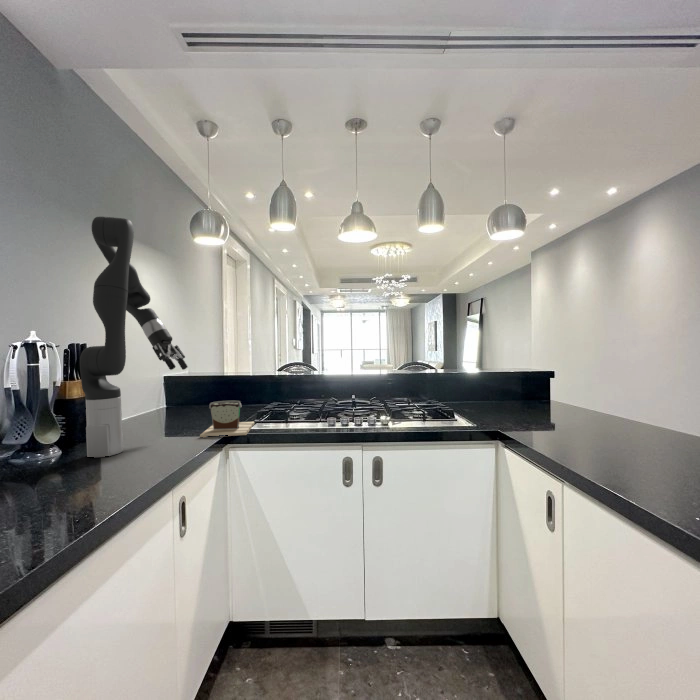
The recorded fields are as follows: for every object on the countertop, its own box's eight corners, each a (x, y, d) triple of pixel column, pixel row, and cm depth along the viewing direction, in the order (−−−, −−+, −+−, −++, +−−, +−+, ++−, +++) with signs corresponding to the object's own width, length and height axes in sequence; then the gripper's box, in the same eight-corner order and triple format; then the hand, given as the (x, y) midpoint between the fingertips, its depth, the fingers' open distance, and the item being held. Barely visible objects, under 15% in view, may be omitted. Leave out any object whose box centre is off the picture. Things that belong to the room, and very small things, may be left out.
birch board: (246, 434, 140) (246, 432, 139) (200, 437, 138) (199, 434, 138) (254, 423, 159) (254, 421, 159) (214, 426, 158) (214, 423, 158)
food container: (247, 425, 152) (246, 399, 152) (241, 428, 146) (240, 402, 145) (216, 426, 153) (215, 400, 152) (209, 429, 146) (208, 402, 146)
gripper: (153, 326, 143) (177, 362, 141) (175, 329, 157) (196, 363, 155) (137, 338, 143) (160, 374, 141) (160, 340, 157) (181, 373, 156)
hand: (179, 368), depth 148 cm, fingers open, 8 cm apart
